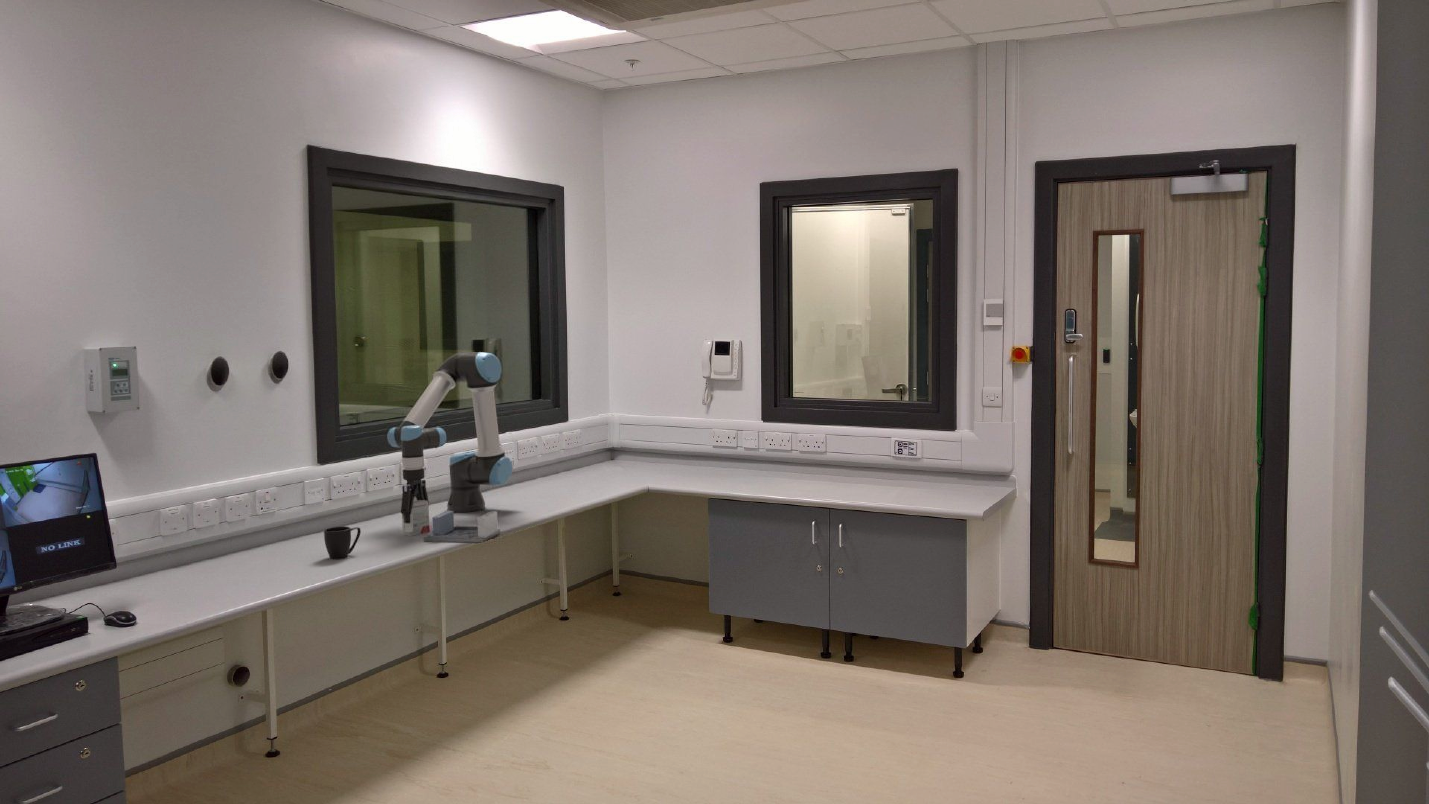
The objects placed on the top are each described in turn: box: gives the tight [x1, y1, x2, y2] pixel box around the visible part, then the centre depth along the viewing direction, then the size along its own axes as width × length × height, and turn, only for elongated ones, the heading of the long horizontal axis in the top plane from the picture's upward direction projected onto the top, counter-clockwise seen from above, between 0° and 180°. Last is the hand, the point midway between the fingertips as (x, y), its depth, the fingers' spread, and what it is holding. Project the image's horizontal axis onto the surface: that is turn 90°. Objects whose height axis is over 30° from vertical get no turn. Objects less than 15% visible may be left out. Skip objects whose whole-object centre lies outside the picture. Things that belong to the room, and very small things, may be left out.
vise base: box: [422, 510, 501, 543], centre depth 358 cm, size 16×22×8 cm
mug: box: [323, 526, 361, 560], centre depth 332 cm, size 8×12×10 cm
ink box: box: [400, 499, 431, 537], centre depth 366 cm, size 9×5×12 cm, turn 141°
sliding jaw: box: [431, 510, 455, 535], centre depth 359 cm, size 12×2×7 cm, turn 170°
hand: (416, 528), depth 366 cm, fingers open, 10 cm apart
